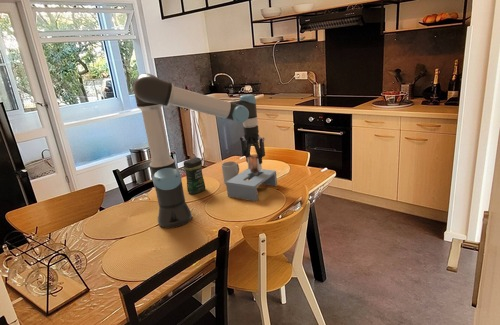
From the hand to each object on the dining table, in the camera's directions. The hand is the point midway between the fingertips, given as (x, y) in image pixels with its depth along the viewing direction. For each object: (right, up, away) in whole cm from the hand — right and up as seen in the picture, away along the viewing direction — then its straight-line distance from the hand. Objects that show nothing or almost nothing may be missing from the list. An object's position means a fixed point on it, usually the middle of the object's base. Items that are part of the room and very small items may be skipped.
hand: (255, 168), depth 176 cm
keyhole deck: (-1, -11, 0) cm, 11 cm away
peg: (+1, -7, +2) cm, 8 cm away
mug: (-12, -7, +16) cm, 22 cm away
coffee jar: (-32, -12, +7) cm, 35 cm away
